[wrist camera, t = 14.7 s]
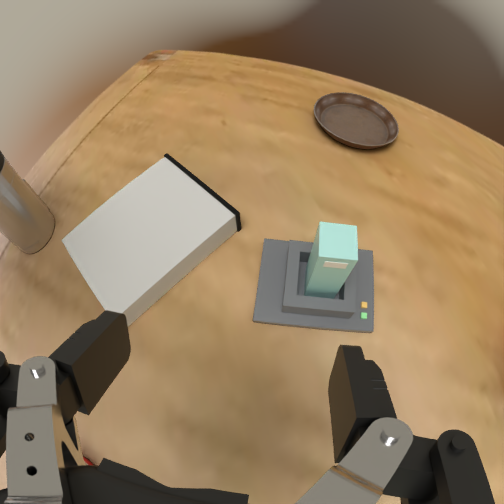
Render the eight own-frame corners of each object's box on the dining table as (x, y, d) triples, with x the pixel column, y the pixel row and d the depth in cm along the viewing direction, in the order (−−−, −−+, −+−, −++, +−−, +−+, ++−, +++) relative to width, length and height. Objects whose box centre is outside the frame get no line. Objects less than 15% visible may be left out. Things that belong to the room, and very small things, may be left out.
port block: (253, 322, 40) (252, 313, 37) (264, 241, 45) (264, 227, 42) (370, 333, 39) (381, 326, 35) (370, 253, 44) (379, 240, 41)
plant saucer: (349, 94, 63) (351, 84, 60) (409, 137, 56) (413, 127, 54) (294, 118, 59) (295, 107, 56) (360, 170, 52) (364, 158, 49)
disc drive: (242, 230, 47) (240, 211, 43) (127, 331, 40) (112, 321, 36) (173, 171, 53) (167, 152, 49) (74, 252, 46) (60, 238, 42)
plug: (303, 296, 40) (318, 256, 30) (305, 268, 42) (319, 221, 32) (333, 299, 40) (358, 260, 29) (334, 271, 42) (356, 225, 31)
